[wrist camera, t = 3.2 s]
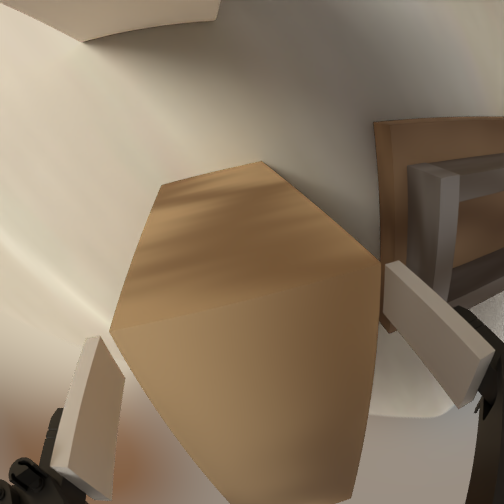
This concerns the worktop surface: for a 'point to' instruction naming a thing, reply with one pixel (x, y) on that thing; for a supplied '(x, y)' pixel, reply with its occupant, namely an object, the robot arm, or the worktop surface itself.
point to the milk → (113, 14)
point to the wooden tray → (443, 204)
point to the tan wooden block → (254, 334)
